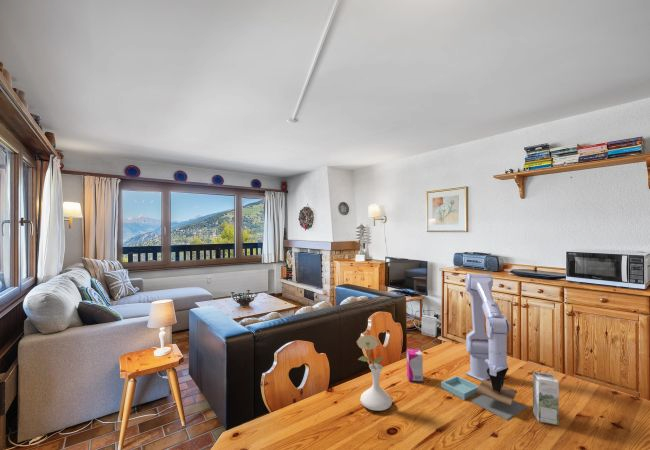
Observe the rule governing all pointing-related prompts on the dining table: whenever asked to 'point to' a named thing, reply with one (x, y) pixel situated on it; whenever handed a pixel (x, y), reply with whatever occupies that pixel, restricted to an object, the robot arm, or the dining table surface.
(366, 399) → the flower in vase
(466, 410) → the dining table surface
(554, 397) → the syrup box
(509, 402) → the lid
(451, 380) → the dish
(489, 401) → the mat
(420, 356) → the supplement box
